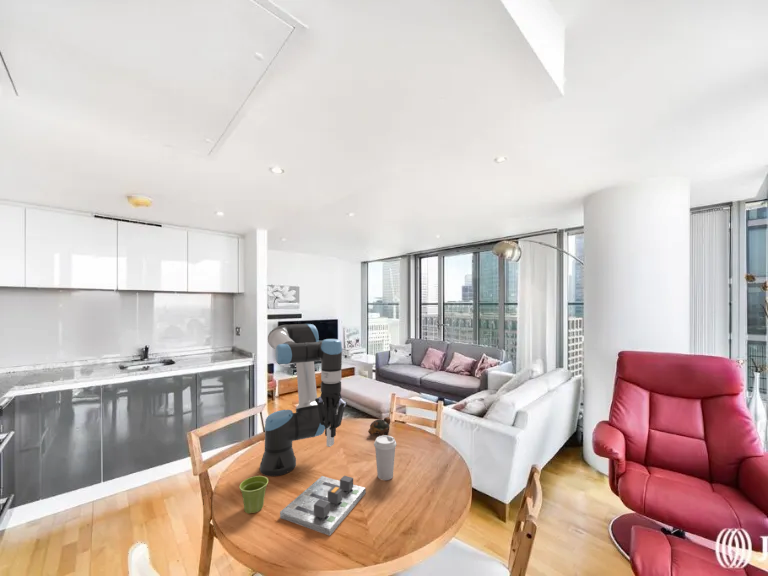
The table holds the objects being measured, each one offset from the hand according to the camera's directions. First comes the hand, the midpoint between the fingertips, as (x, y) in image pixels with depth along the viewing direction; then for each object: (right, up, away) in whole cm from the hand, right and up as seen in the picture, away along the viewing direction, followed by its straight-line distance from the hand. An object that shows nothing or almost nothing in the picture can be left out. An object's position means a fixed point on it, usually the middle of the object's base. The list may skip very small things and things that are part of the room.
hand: (330, 445), depth 116 cm
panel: (-1, -20, -4) cm, 20 cm away
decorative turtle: (+18, -23, +57) cm, 64 cm away
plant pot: (-26, -20, -6) cm, 33 cm away
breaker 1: (-1, -17, -13) cm, 21 cm away
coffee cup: (+21, -21, +15) cm, 33 cm away
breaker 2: (+3, -17, -5) cm, 18 cm away
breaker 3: (+6, -17, +2) cm, 18 cm away
